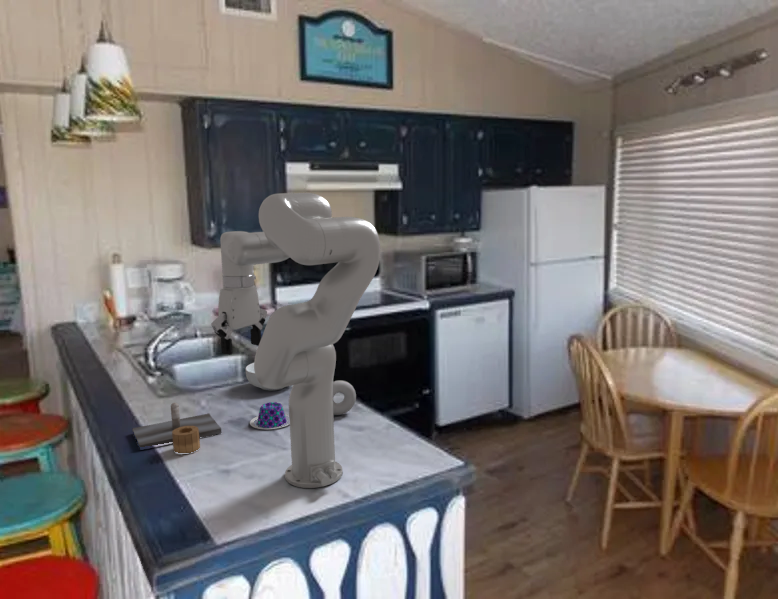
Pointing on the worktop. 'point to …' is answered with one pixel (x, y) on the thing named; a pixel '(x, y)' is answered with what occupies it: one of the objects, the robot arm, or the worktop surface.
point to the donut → (348, 397)
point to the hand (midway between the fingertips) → (242, 349)
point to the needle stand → (163, 431)
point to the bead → (186, 439)
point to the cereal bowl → (254, 377)
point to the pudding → (270, 416)
